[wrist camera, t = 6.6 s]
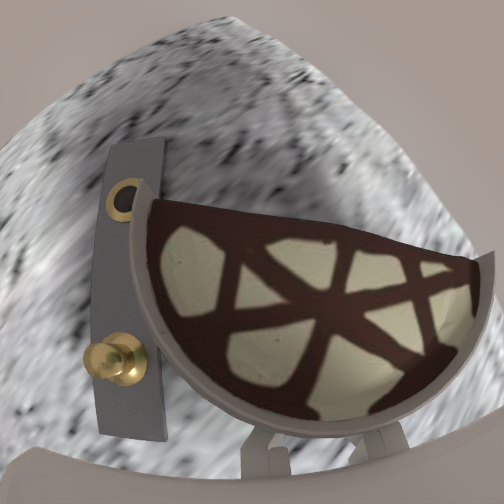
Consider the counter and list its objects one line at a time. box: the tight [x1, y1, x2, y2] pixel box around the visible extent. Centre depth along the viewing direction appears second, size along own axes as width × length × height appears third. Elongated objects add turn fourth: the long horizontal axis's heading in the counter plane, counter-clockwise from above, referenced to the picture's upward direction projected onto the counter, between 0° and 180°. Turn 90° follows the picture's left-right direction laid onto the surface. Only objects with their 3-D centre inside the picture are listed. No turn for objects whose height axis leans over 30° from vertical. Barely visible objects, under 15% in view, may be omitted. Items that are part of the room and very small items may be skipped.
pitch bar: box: [83, 136, 168, 442], centre depth 15 cm, size 4×20×4 cm, turn 4°
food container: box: [129, 178, 496, 438], centre depth 11 cm, size 12×6×10 cm, turn 79°
